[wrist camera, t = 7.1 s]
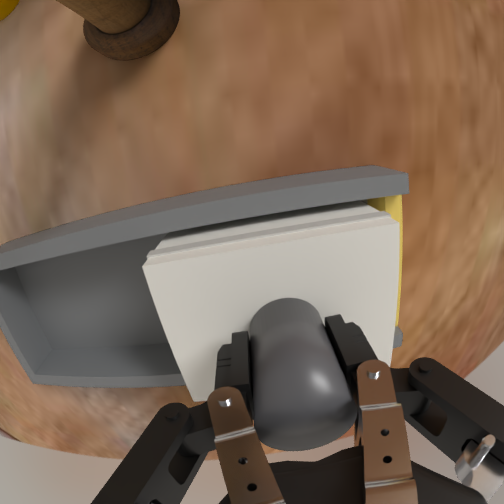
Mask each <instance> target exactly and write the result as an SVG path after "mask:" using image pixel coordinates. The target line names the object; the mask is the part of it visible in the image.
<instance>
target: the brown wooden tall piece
mask: <svg viewBox="0 0 504 504" xmlns="http://www.w3.org/2000/svg"><path fill="white" fill-rule="evenodd" d="M56 1H58V2H60V3H61V4H63V5H65V6H66V7H68V8H69V9H71V10H73V11H74V12H76V13H77V14H79V15H80V16H82V17H83V18H85V20H84V25H83V31H84V36H85V39H86V41H87V42H88V44H89V45H90V46H91V47H92V48H94V49H95V50H97V51H98V52H100V53H102V54H103V55H105V56H107V57H109V58H112V59H116V60H131V59H136V58H140V57H143V56H145V55H147V54H150V53H151V52H153V51H155V50H156V49H158V48H159V47H160V46H162V45H163V44H164V43H165V42H166V41H167V40H168V39H169V38H170V36H171V35H172V34H173V32H174V31H175V29H176V27H177V24H178V21H179V16H180V9H179V4H178V2H177V0H56Z"/></svg>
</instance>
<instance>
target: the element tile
mask: <svg viewBox="0 0 504 504" xmlns="http://www.w3.org/2000/svg"><path fill="white" fill-rule="evenodd" d="M18 2H19V0H0V21H1V20H3V19H4V18H6V17H7V16H8V15H9V14H10V13H11V12H12V11H13V10H14V9H15V7H16V5H17V4H18Z"/></svg>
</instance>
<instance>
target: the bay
mask: <svg viewBox="0 0 504 504" xmlns="http://www.w3.org/2000/svg"><path fill="white" fill-rule="evenodd" d="M402 194H409V180H408V173H405V172H401V171H397V170H393V169H388V168H384V167H380V166H375V165H371V166H361V167H352V168H343V169H335V170H327V171H319V172H311V173H304V174H297V175H290V176H284V177H277V178H271V179H265V180H259V181H253V182H247V183H241V184H236V185H230V186H225V187H219V188H214V189H209V190H204V191H199V192H194V193H189V194H184V195H180V196H175V197H170V198H166V199H161V200H157V201H152V202H148V203H144V204H140V205H135V206H131V207H127V208H123V209H119V210H115V211H111V212H107V213H104V214H100V215H96V216H92V217H89V218H85V219H81V220H78V221H74V222H71V223H67V224H64V225H60V226H57V227H54V228H50V229H47V230H44V231H40V232H37V233H34V234H31V235H28V236H25V237H22V238H18V239H15V240H12V241H9V242H7V243H5V244H3V245H1V246H0V328H1V330H2V332H3V334H4V335H5V337H6V339H7V341H8V343H9V345H10V347H11V348H12V350H13V352H14V354H15V355H16V357H17V359H18V360H19V362H20V364H21V365H22V367H23V369H24V370H25V372H26V373H27V375H28V376H29V378H30V380H31V381H32V383H34V384H44V385H57V386H72V387H99V388H138V387H166V386H182V385H186V383H185V381H184V379H183V376H182V374H181V371H180V369H179V367H178V364H177V362H176V359H175V357H174V354H173V352H172V349H171V347H170V344H169V342H168V339H167V337H166V334H165V331H164V329H163V326H162V323H161V321H160V318H159V315H158V312H157V310H156V307H155V304H154V301H153V298H152V295H151V292H150V289H149V286H148V283H147V280H146V277H145V274H144V271H143V268H142V266H143V265H144V263H145V262H146V261H147V257H146V256H147V255H148V253H149V252H150V251H151V250H155V249H156V247H157V246H158V245H159V243H160V242H161V241H162V239H163V238H164V237H165V235H166V234H167V233H168V232H173V231H178V230H184V229H189V228H194V227H199V226H205V225H210V224H216V223H221V222H227V221H232V220H238V219H244V218H249V217H255V216H261V215H267V214H273V213H279V212H285V211H291V210H297V209H304V208H310V207H317V206H323V205H330V204H336V203H343V202H350V201H357V200H360V201H362V202H364V203H366V204H367V205H369V206H371V207H373V208H375V209H376V210H378V211H385V212H387V213H389V214H391V218H392V219H394V220H396V221H397V222H399V228H400V248H399V281H398V298H397V311H396V322H395V332H394V341H393V348H396V347H400V346H401V345H402V338H403V333H402V331H401V330H400V329H399V327H398V317H399V306H400V292H401V275H402Z"/></svg>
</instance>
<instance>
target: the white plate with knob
mask: <svg viewBox="0 0 504 504" xmlns="http://www.w3.org/2000/svg"><path fill="white" fill-rule="evenodd" d="M399 248H400V228H399V222H397V221H396V220H394V219H392V218H391V214H389V213H387V212H385V211H378V210H376V209H375V208H373V207H371V206H369V205H367V204H366V203H364V202H362V201H360V200H357V201H350V202H343V203H336V204H330V205H323V206H317V207H310V208H304V209H297V210H291V211H285V212H279V213H273V214H267V215H261V216H255V217H249V218H244V219H238V220H232V221H227V222H221V223H216V224H210V225H205V226H199V227H194V228H189V229H184V230H178V231H173V232H168V233H167V234H166V235H165V237H164V238H163V239H162V241H161V242H160V243H159V245H158V246H157V247H156V249H155V250H151V251H150V252H149V253H148V255H147V256H146V257H147V261H146V262H145V263H144V265H143V266H142V268H143V271H144V274H145V277H146V280H147V283H148V286H149V289H150V292H151V295H152V298H153V301H154V304H155V307H156V310H157V312H158V315H159V318H160V321H161V323H162V326H163V329H164V331H165V334H166V337H167V339H168V342H169V344H170V347H171V349H172V352H173V354H174V357H175V359H176V362H177V364H178V367H179V369H180V371H181V374H182V376H183V379H184V381H185V383H186V385H187V388H188V390H189V392H190V394H191V397H192V399H193V401H194V402H197V401H207V399H208V396H209V395H210V394H211V393H212V392H213V391H214V386H215V375H216V363H217V353H218V351H219V349H220V348H221V346H222V345H224V344H231V342H232V333H234V332H241V331H248V334H249V339H250V352H251V373H252V393H253V415H254V428H255V430H256V433H257V435H258V438H259V440H260V441H261V442H262V443H263V444H265V445H267V446H269V447H271V448H274V449H278V450H284V451H303V450H309V449H314V448H317V447H321V446H323V445H326V444H328V443H330V442H332V441H334V440H336V439H338V438H339V437H341V436H342V435H343V434H345V433H346V432H347V431H348V430H349V429H350V428H351V426H352V425H353V424H354V422H355V420H356V418H357V406H356V403H355V401H354V398H353V396H352V393H351V390H350V388H349V385H348V383H347V380H346V378H345V375H344V373H343V370H342V368H341V365H340V363H339V360H338V358H337V355H336V353H335V350H334V348H333V345H332V343H331V341H330V338H329V336H328V333H327V331H326V328H325V321H324V320H325V317H328V316H333V315H337V314H340V315H341V316H342V318H343V320H344V322H345V323H349V322H353V323H355V324H356V325H358V326H359V327H360V328H361V330H362V331H363V333H364V335H365V337H366V338H367V341H368V342H369V344H370V345H371V347H372V349H373V351H374V353H375V354H376V356H377V358H378V360H380V361H383V362H385V363H386V364H387V365H388V366H389V367H390V363H391V356H392V349H393V341H394V332H395V322H396V311H397V298H398V281H399Z"/></svg>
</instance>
